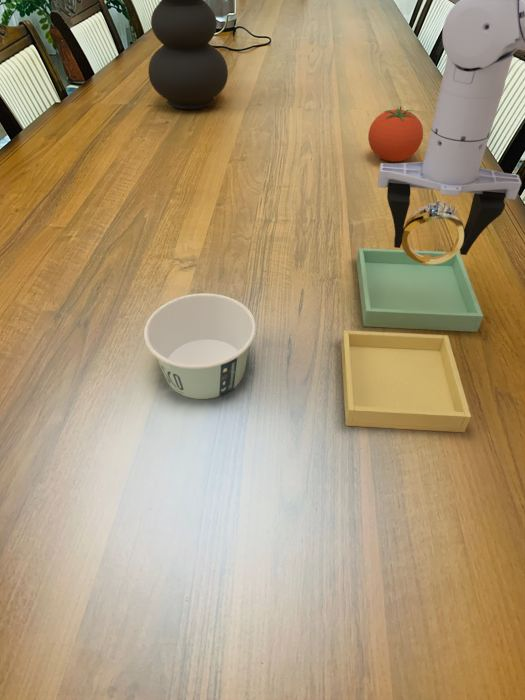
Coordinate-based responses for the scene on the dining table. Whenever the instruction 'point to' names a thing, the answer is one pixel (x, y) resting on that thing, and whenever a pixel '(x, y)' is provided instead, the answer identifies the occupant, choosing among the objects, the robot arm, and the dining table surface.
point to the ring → (435, 212)
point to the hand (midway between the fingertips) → (429, 246)
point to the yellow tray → (402, 382)
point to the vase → (186, 54)
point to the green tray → (416, 292)
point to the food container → (201, 343)
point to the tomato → (395, 135)
